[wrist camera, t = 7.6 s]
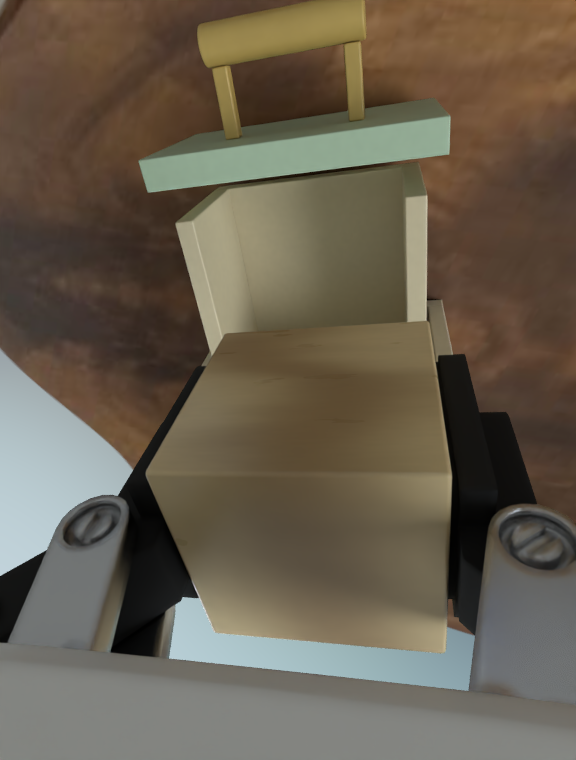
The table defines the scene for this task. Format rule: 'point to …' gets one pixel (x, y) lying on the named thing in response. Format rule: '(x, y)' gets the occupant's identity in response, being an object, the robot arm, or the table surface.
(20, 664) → the robot arm
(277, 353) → the block
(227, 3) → the table surface
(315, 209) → the drawer
